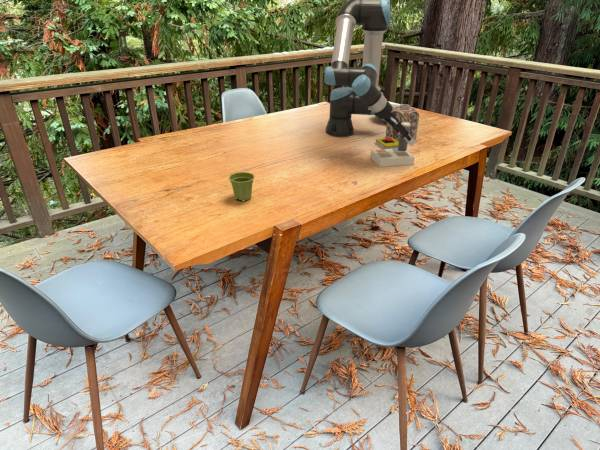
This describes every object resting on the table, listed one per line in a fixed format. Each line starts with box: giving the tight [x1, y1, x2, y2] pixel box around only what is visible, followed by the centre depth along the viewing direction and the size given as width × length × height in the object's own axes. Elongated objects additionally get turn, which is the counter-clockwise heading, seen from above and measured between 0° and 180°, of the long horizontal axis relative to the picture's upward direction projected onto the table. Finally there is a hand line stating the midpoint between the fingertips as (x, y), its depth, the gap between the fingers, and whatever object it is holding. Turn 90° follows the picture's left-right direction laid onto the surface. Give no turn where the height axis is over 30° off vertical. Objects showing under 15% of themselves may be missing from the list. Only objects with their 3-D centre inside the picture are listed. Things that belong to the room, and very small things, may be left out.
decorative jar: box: [384, 103, 420, 142], centre depth 211 cm, size 12×12×18 cm
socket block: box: [370, 148, 416, 168], centre depth 189 cm, size 12×16×4 cm
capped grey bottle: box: [398, 122, 410, 151], centre depth 183 cm, size 4×4×12 cm
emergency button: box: [374, 137, 399, 149], centre depth 205 cm, size 9×4×15 cm
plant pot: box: [228, 171, 256, 201], centre depth 154 cm, size 9×9×9 cm
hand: (411, 142), depth 186 cm, fingers closed on capped grey bottle, 4 cm apart
